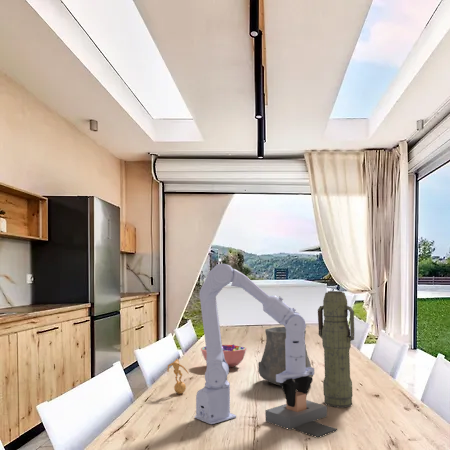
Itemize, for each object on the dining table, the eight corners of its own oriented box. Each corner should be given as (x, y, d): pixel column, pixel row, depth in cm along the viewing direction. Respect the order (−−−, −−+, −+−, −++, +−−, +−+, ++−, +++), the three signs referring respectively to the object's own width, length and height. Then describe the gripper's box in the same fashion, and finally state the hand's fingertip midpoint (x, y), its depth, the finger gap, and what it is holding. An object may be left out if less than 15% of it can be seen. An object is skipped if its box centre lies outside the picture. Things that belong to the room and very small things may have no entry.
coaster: (318, 438, 113) (318, 436, 113) (293, 429, 120) (293, 427, 120) (337, 430, 119) (337, 428, 119) (312, 422, 125) (312, 421, 125)
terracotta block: (297, 422, 125) (296, 396, 126) (286, 418, 128) (286, 393, 129) (306, 419, 128) (306, 393, 128) (295, 415, 131) (295, 390, 131)
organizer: (289, 429, 119) (289, 418, 120) (265, 421, 126) (265, 410, 126) (326, 416, 130) (326, 405, 130) (302, 409, 136) (302, 399, 137)
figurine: (193, 393, 154) (193, 357, 155) (184, 398, 149) (184, 361, 150) (172, 390, 158) (172, 355, 159) (163, 395, 152) (163, 359, 153)
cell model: (247, 372, 185) (247, 344, 186) (199, 372, 185) (199, 344, 186) (246, 363, 202) (245, 337, 203) (201, 363, 202) (201, 337, 203)
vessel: (292, 396, 150) (291, 335, 152) (246, 383, 167) (245, 328, 169) (331, 384, 165) (329, 329, 166) (285, 374, 181) (284, 323, 183)
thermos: (324, 396, 149) (321, 290, 152) (360, 402, 143) (356, 291, 146) (315, 403, 142) (312, 291, 145) (352, 410, 135) (348, 292, 139)
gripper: (289, 361, 122) (290, 413, 120) (322, 354, 131) (323, 402, 130) (270, 357, 127) (270, 407, 126) (303, 350, 136) (304, 397, 135)
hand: (296, 404), depth 128 cm, fingers closed on terracotta block, 4 cm apart
